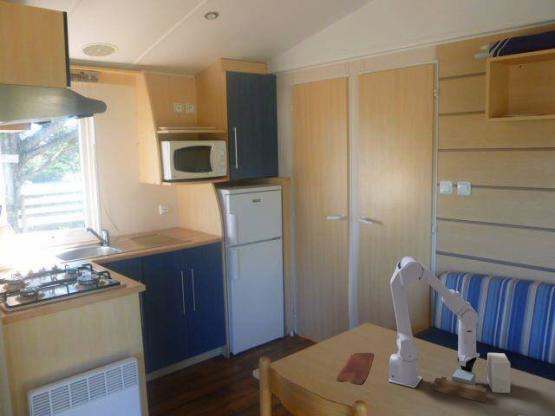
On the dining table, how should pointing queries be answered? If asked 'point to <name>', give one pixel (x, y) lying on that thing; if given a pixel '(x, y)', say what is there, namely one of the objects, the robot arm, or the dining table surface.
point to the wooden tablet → (356, 368)
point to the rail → (460, 389)
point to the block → (464, 377)
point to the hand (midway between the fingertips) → (467, 377)
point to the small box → (498, 372)
